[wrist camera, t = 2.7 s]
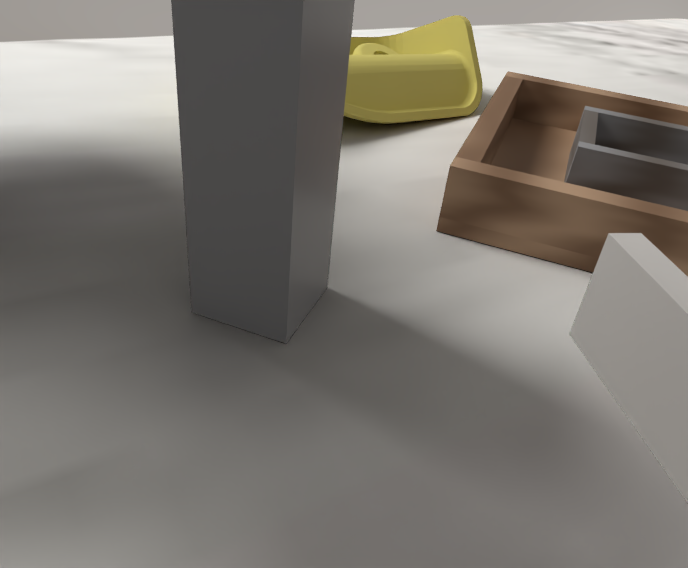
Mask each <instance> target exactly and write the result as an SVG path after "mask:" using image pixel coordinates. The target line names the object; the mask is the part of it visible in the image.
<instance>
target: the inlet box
mask: <svg viewBox="0 0 688 568" xmlns="http://www.w3.org/2000/svg"><path fill="white" fill-rule="evenodd" d="M437 231H439V232H443V233H446V234H450V235H454V236H458V237H461V238H465V239H469V240H473V241H476V242H480V243H484V244H488V245H491V246H495V247H499V248H503V249H506V250H510V251H514V252H518V253H521V254H525V255H529V256H533V257H536V258H540V259H544V260H548V261H551V262H555V263H559V264H563V265H566V266H570V267H574V268H578V269H581V270H585V271H589V272H594V269H595V267H596V264H597V261H598V259H599V256H600V254H601V251H602V249H603V246H604V243H605V241H606V238H607V236H608V233H642V234H643V235H644V236H645V237H646V238H647V239H648V240H649V241H650V242H651V243H652V244H653V245H654V246H656V247H657V248H658V249H659V250H660V251H661V252H662V253H663V254H664V255H665V256H666V257H667V258H668V259H669V260H670V261H672V262H673V263H674V264H675V265H676V266H677V267H678V268H679V269H680V270H681V271H682V272H683V273H684V274H685V275H686V276H688V107H687V106H682V105H677V104H672V103H667V102H662V101H657V100H652V99H646V98H641V97H636V96H631V95H626V94H621V93H616V92H611V91H605V90H600V89H595V88H590V87H585V86H580V85H575V84H570V83H565V82H559V81H554V80H549V79H544V78H539V77H534V76H529V75H524V74H519V73H513V72H507V74H506V75H505V77H504V78H503V80H502V82H501V83H500V85H499V87H498V88H497V90H496V92H495V93H494V95H493V96H492V98H491V100H490V101H489V103H488V105H487V106H486V108H485V110H484V111H483V113H482V114H481V116H480V118H479V119H478V121H477V123H476V124H475V126H474V128H473V129H472V131H471V132H470V134H469V136H468V137H467V139H466V141H465V142H464V144H463V146H462V147H461V149H460V150H459V152H458V154H457V155H456V157H455V159H454V160H453V162H452V163H451V165H450V169H449V173H448V178H447V183H446V188H445V193H444V197H443V202H442V207H441V212H440V216H439V221H438V226H437Z"/></svg>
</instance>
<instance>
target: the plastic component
mask: <svg viewBox="0 0 688 568" xmlns="http://www.w3.org/2000/svg"><path fill="white" fill-rule="evenodd" d="M481 96H482V78H481V73H480V68H479V63H478V58H477V52H476V47H475V42H474V37H473V32H472V26H471V24H470V22H469V20H468V19H467V18H466V17H463V16H451V17H448V18H445V19H442V20H439V21H436V22H433V23H430V24H427V25H424V26H421V27H418V28H415V29H412V30H409V31H407V32H404V33H400V34H396V35H391V36H384V37H351V43H350V54H349V64H348V75H347V85H346V96H345V106H344V116H346V117H349V118H352V119H357V120H361V121H366V122H371V123H385V124H391V123H401V122H411V121H421V120H432V119H442V118H450V117H459V116H467V115H470V114H471V113H473V112H474V111H475V110H476V108H477V107H478V106H479V103H480V100H481Z"/></svg>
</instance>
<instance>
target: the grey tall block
mask: <svg viewBox="0 0 688 568" xmlns="http://www.w3.org/2000/svg"><path fill="white" fill-rule="evenodd" d="M354 1H355V0H171V2H172V17H173V32H174V33H173V34H174V49H175V64H176V79H177V95H178V110H179V125H180V141H181V156H182V171H183V187H184V202H185V217H186V233H187V248H188V263H189V278H190V294H191V309H192V313H195V314H198V315H201V316H204V317H207V318H210V319H213V320H216V321H219V322H222V323H225V324H228V325H231V326H234V327H237V328H240V329H243V330H246V331H249V332H252V333H255V334H258V335H261V336H264V337H267V338H270V339H273V340H276V341H279V342H282V343H285V344H286V343H287V342H288V341H289V339H290V338H291V336H292V335H293V334H294V332H295V331H296V330H297V328H298V327H299V325H300V324H301V323H302V321H303V320H304V319H305V317H306V316H307V315H308V313H309V312H310V310H311V309H312V308H313V306H314V305H315V304H316V302H317V301H318V299H319V298H320V297H321V295H322V294H323V293H324V291H325V290H326V289H327V285H328V274H329V264H330V253H331V243H332V232H333V222H334V211H335V201H336V190H337V180H338V169H339V159H340V148H341V138H342V127H343V117H344V106H345V96H346V85H347V75H348V64H349V54H350V43H351V33H352V22H353V12H354Z"/></svg>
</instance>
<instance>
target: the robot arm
mask: <svg viewBox="0 0 688 568" xmlns="http://www.w3.org/2000/svg"><path fill="white" fill-rule="evenodd" d="M569 334H570V336H571V337H572V339H573V340H574V342H575V343H576V344H577V346H578V347H579V349H580V350H581V352H582V353H583V354H584V356H585V357H586V359H587V360H588V362H589V363H590V364H591V366H592V367H593V369H594V370H595V372H596V373H597V374H598V376H599V377H600V379H601V380H602V382H603V383H604V384H605V386H606V387H607V389H608V390H609V392H610V393H611V394H612V396H613V397H614V399H615V400H616V402H617V403H618V405H619V406H620V407H621V409H622V410H623V412H624V413H625V415H626V416H627V417H628V419H629V420H630V422H631V423H632V425H633V426H634V427H635V429H636V430H637V432H638V433H639V435H640V436H641V437H642V439H643V440H644V442H645V443H646V445H647V446H648V447H649V449H650V450H651V452H652V453H653V455H654V456H655V457H656V459H657V460H658V462H659V463H660V465H661V466H662V467H663V469H664V470H665V472H666V473H667V475H668V476H669V477H670V479H671V480H672V482H673V483H674V485H675V486H676V487H677V489H678V490H679V492H680V493H681V495H682V496H683V497H684V499H685V500H686V502H687V503H688V276H686V275H685V274H684V273H683V272H682V271H681V270H680V269H679V268H678V267H677V266H676V265H675V264H674V263H673V262H672V261H670V260H669V259H668V258H667V257H666V256H665V255H664V254H663V253H662V252H661V251H660V250H659V249H658V248H657V247H656V246H654V245H653V244H652V243H651V242H650V241H649V240H648V239H647V238H646V237H645V236H644V235H643V234H642V233H608V236H607V238H606V241H605V243H604V246H603V249H602V251H601V254H600V256H599V259H598V261H597V264H596V267H595V269H594V272H593V274H592V277H591V279H590V282H589V285H588V287H587V290H586V292H585V295H584V297H583V300H582V302H581V305H580V308H579V310H578V313H577V315H576V318H575V320H574V323H573V326H572V328H571V331H570V333H569Z"/></svg>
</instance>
